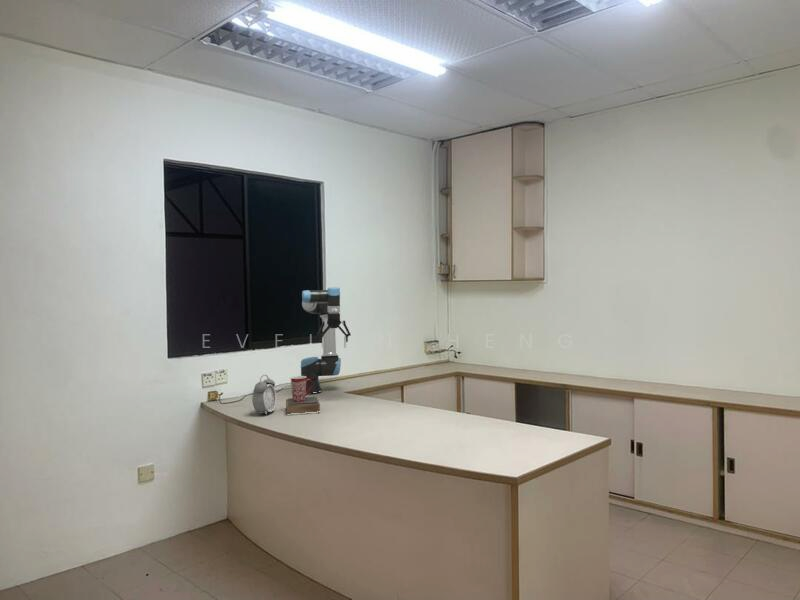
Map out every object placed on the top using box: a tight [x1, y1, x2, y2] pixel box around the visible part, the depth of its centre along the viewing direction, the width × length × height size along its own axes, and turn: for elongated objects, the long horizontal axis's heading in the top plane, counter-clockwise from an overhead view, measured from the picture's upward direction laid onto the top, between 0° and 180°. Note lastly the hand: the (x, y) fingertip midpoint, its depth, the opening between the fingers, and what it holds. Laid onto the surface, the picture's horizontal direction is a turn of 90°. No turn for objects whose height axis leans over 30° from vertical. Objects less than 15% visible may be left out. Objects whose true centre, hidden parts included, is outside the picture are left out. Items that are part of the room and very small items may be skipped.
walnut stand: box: [285, 396, 321, 415], centre depth 318 cm, size 18×18×6 cm
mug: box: [290, 375, 312, 402], centre depth 318 cm, size 13×9×14 cm
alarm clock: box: [251, 374, 277, 415], centre depth 312 cm, size 16×9×22 cm, turn 168°
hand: (333, 347), depth 336 cm, fingers open, 13 cm apart
